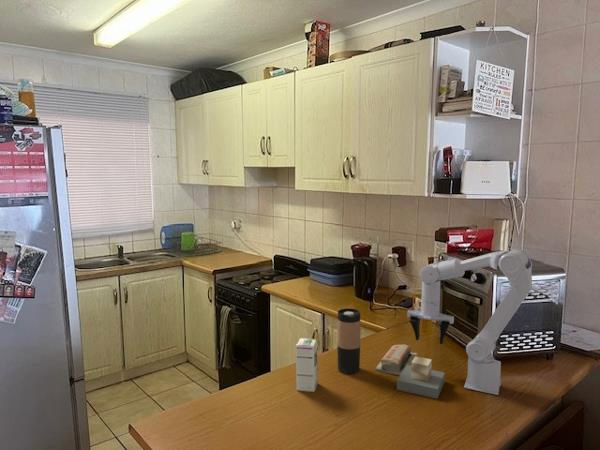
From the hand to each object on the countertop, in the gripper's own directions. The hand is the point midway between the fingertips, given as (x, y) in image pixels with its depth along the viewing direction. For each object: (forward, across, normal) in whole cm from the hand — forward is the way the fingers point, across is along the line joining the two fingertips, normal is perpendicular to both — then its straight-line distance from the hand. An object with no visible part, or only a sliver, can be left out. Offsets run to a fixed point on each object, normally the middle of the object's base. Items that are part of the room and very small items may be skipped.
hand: (429, 341), depth 142 cm
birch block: (+7, 0, -11) cm, 13 cm away
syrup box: (+11, -31, -28) cm, 43 cm away
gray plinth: (+10, 0, -11) cm, 15 cm away
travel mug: (+11, -24, -11) cm, 28 cm away
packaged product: (+11, -11, +2) cm, 16 cm away
